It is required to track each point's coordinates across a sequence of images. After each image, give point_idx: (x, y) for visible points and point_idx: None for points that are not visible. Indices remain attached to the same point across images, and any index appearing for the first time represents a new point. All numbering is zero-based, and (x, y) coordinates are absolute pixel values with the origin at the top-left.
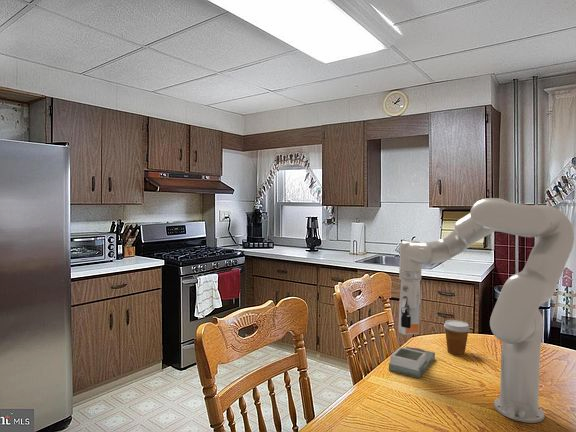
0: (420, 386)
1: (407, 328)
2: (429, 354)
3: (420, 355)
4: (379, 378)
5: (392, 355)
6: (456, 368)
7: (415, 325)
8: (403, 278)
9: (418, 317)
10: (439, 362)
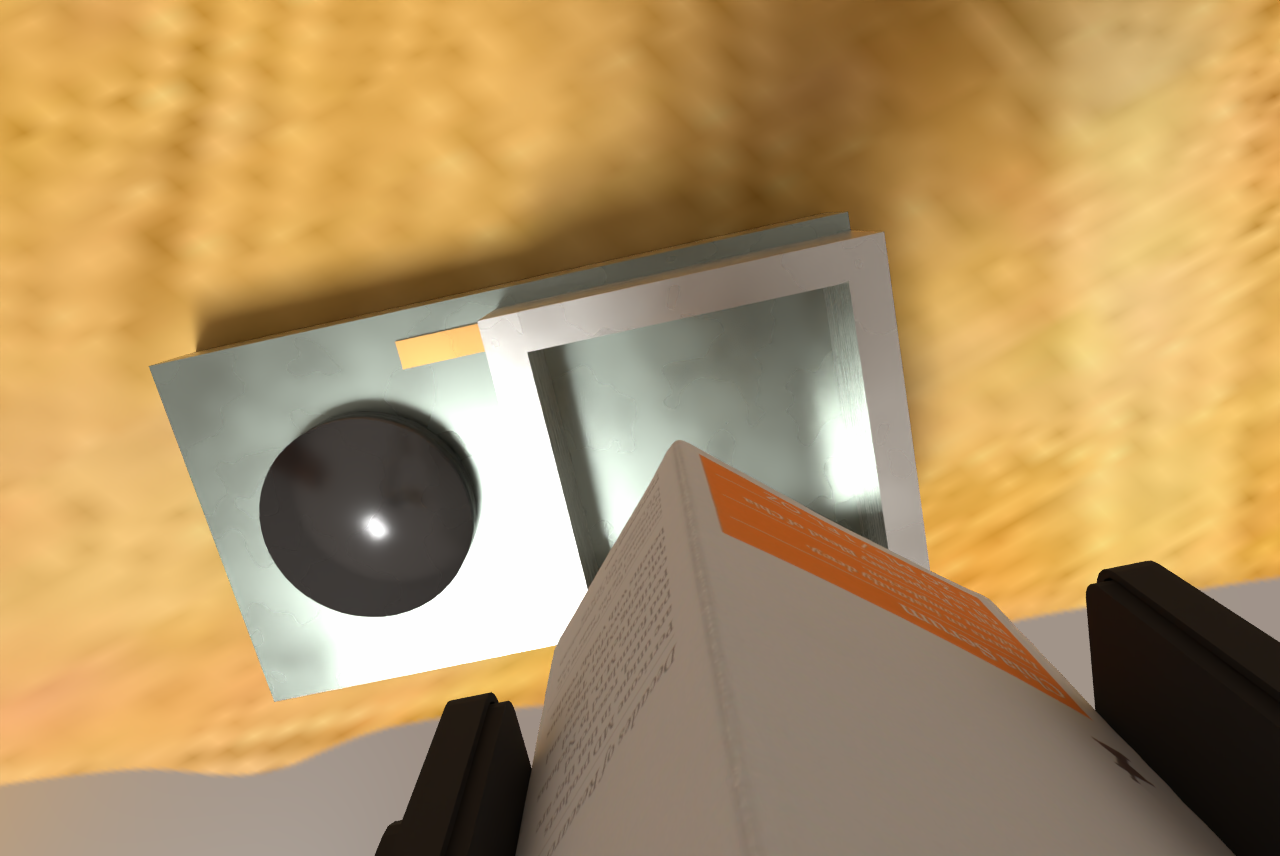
0: (1007, 109)
1: (1010, 642)
2: (271, 383)
3: (539, 380)
4: (1111, 507)
5: None
6: (232, 26)
7: (817, 561)
8: None
9: (771, 641)
10: (241, 264)
